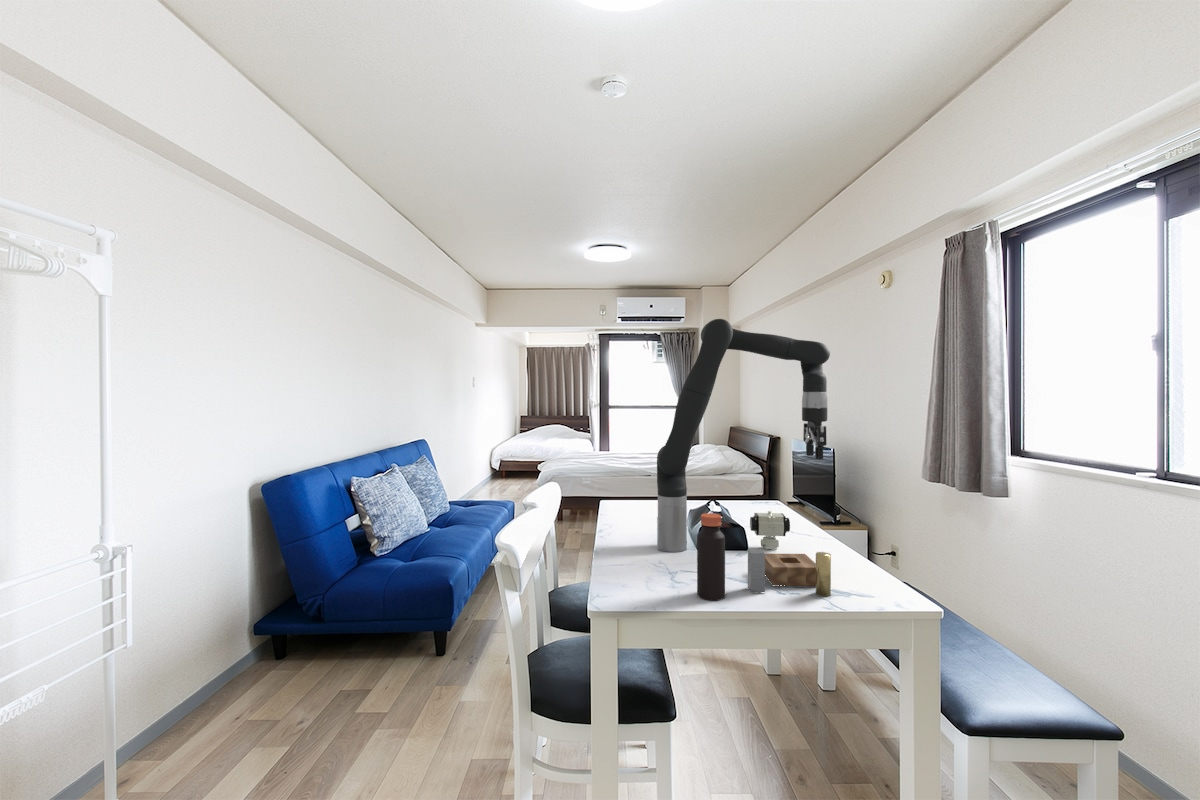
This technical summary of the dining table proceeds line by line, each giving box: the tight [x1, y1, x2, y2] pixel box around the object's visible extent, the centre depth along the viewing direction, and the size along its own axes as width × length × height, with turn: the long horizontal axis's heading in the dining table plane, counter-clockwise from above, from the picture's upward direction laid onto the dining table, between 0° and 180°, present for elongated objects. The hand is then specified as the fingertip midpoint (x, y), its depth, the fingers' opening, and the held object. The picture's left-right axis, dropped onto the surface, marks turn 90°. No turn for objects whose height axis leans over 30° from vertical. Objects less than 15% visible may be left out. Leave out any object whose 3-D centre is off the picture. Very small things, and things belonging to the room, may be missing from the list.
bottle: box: [696, 512, 726, 601], centre depth 138 cm, size 7×7×20 cm
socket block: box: [765, 553, 816, 587], centre depth 150 cm, size 12×12×5 cm
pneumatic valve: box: [749, 510, 791, 550], centre depth 178 cm, size 6×12×12 cm, turn 83°
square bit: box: [747, 548, 766, 593], centre depth 142 cm, size 4×4×10 cm
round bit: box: [815, 551, 832, 598], centre depth 139 cm, size 4×4×10 cm
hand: (814, 457), depth 177 cm, fingers open, 8 cm apart
